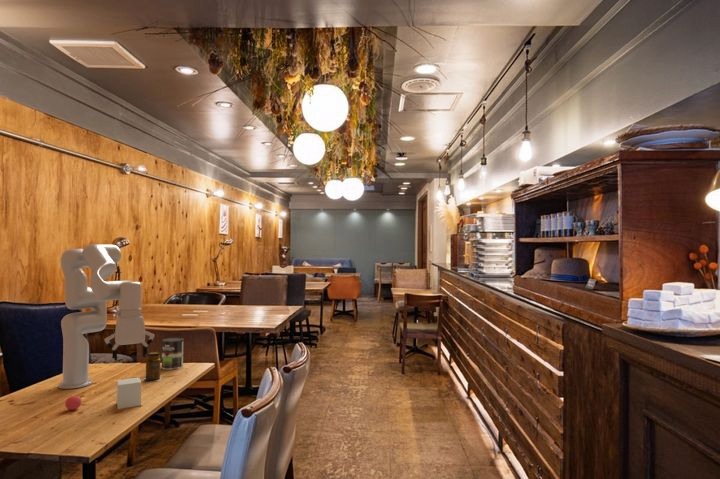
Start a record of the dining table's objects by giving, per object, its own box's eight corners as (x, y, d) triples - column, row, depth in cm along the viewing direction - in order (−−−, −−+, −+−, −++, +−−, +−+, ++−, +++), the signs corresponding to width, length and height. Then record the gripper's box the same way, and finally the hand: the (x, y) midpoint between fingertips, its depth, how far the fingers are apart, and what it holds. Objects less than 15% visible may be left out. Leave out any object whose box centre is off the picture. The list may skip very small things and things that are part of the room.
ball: (65, 408, 166) (65, 395, 166) (81, 406, 168) (81, 393, 168) (64, 413, 161) (65, 399, 162) (81, 410, 164) (81, 396, 164)
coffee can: (176, 370, 221) (176, 341, 221) (157, 369, 222) (157, 340, 223) (187, 365, 231) (187, 337, 231) (169, 364, 233) (169, 337, 233)
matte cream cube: (116, 403, 172) (117, 380, 172) (138, 399, 176) (139, 377, 176) (117, 409, 166) (118, 385, 166) (140, 405, 170) (141, 382, 170)
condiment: (160, 376, 210) (161, 350, 210) (161, 381, 202) (162, 354, 203) (143, 378, 207) (144, 352, 207) (143, 383, 199) (144, 356, 199)
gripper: (104, 316, 164) (104, 363, 164) (156, 313, 173) (155, 357, 173) (104, 314, 171) (103, 359, 170) (153, 311, 180) (153, 353, 179)
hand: (129, 358), depth 171 cm, fingers open, 9 cm apart
